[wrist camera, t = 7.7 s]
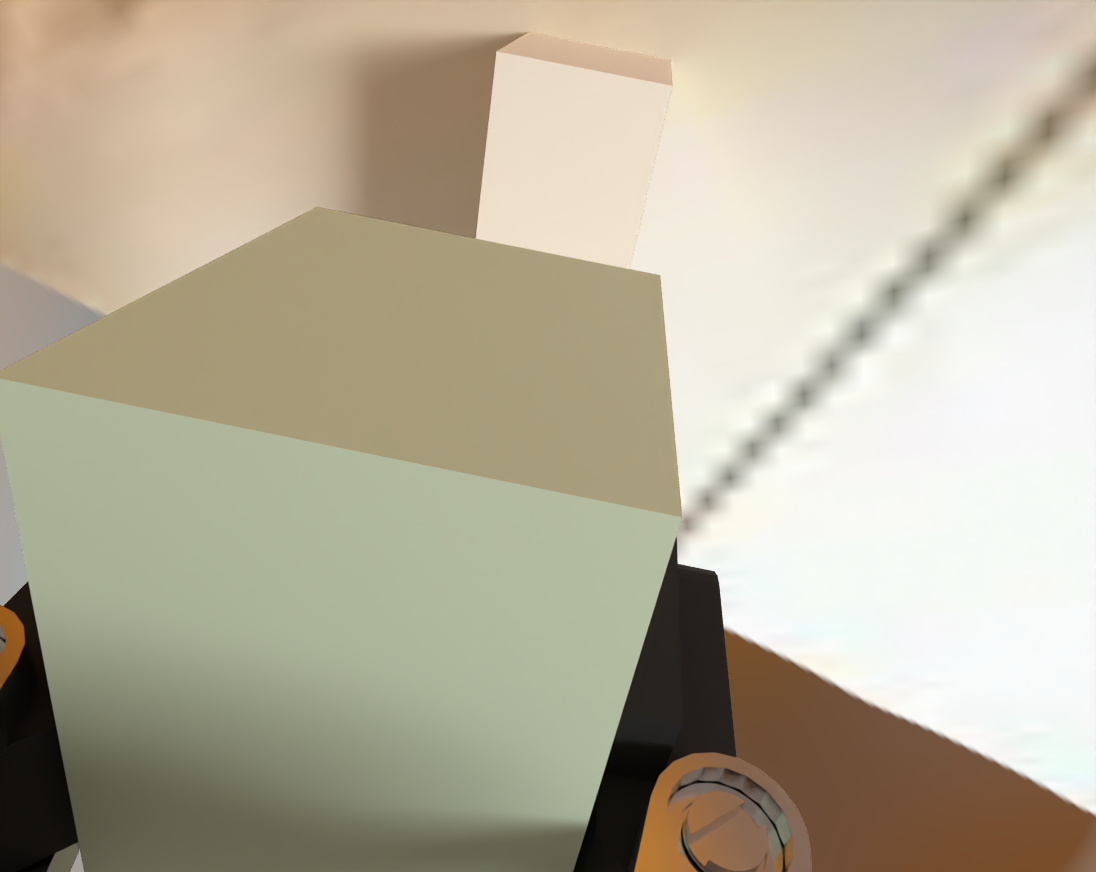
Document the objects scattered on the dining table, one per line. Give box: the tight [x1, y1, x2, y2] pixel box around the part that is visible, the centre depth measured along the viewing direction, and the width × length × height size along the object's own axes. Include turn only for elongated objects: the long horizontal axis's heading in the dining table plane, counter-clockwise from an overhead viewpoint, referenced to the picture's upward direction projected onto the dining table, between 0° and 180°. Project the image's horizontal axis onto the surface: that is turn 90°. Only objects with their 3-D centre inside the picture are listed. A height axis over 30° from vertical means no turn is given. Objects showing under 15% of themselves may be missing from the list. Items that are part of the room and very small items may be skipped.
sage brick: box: [0, 207, 682, 872], centre depth 8 cm, size 8×4×5 cm, turn 171°
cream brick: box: [476, 32, 673, 269], centre depth 21 cm, size 8×4×5 cm, turn 171°
